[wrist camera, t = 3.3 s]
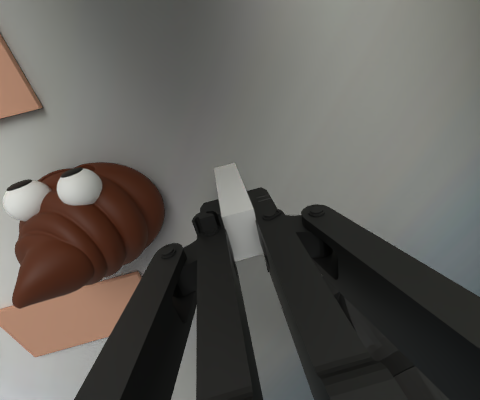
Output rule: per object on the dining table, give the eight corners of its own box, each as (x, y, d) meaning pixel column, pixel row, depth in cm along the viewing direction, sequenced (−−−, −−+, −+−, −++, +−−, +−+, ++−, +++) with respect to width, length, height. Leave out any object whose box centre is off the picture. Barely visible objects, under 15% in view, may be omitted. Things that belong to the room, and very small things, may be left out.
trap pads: (164, 317, 26) (164, 320, 26) (37, 353, 26) (35, 357, 26) (-37, -31, 13) (-44, -34, 12) (-312, 35, 12) (-326, 34, 12)
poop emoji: (69, 260, 22) (-10, 373, 14) (7, 172, 18) (-160, 257, 9) (179, 232, 22) (167, 325, 14) (142, 140, 18) (95, 194, 10)
